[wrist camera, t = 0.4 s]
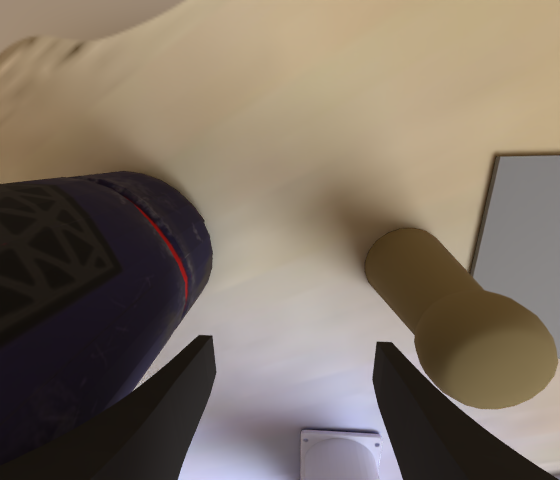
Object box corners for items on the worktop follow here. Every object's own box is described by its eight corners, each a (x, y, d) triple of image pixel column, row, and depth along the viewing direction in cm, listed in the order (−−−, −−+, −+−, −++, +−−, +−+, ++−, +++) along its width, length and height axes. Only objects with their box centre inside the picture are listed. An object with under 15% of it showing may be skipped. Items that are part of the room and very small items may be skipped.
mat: (605, 356, 22) (610, 360, 22) (452, 351, 23) (455, 354, 23) (696, 152, 17) (705, 152, 17) (496, 156, 18) (500, 156, 18)
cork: (358, 294, 22) (409, 423, 12) (372, 224, 20) (449, 302, 10) (433, 302, 22) (554, 443, 11) (455, 232, 20) (626, 322, 9)
